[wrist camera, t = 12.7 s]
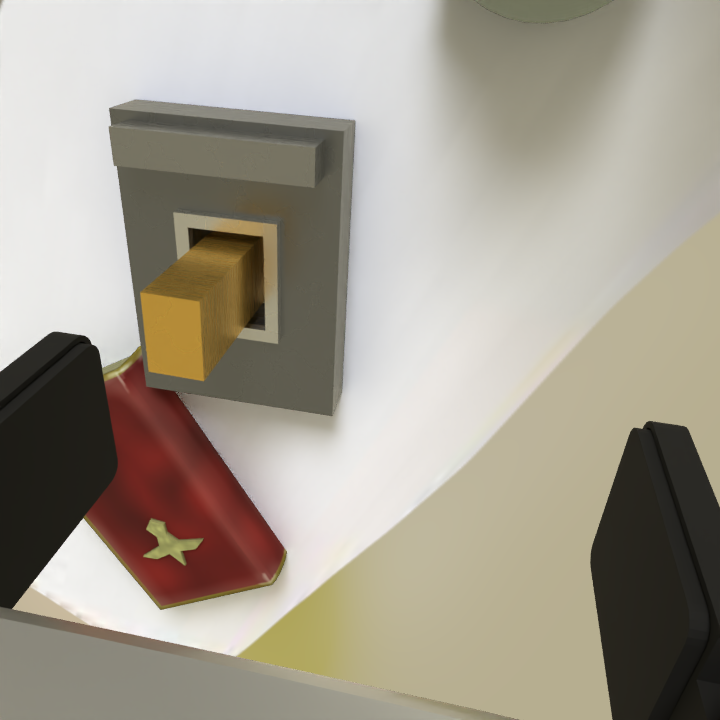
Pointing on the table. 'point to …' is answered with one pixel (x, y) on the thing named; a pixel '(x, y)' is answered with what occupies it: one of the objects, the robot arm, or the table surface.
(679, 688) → the robot arm
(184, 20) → the table surface
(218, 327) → the brass peg in socket
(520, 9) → the air freshener
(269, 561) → the hardcover book
